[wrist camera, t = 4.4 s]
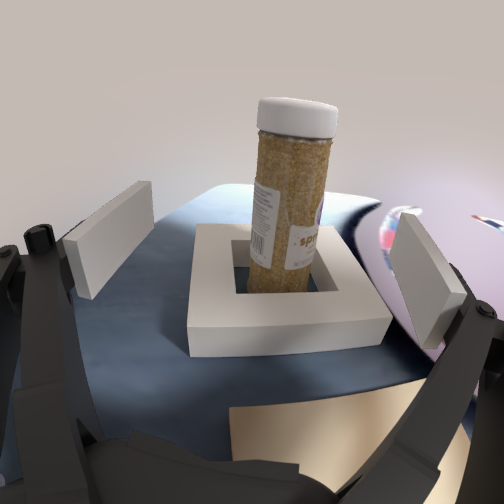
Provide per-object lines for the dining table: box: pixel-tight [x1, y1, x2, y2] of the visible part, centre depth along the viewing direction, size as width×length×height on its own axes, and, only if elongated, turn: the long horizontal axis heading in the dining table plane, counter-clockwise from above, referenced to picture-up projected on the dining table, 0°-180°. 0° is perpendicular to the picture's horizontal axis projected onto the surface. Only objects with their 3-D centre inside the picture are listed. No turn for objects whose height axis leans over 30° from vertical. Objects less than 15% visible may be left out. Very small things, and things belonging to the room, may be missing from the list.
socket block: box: [187, 224, 393, 357], centre depth 22 cm, size 12×12×2 cm
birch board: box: [229, 378, 471, 504], centre depth 9 cm, size 12×12×1 cm
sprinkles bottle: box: [247, 97, 338, 294], centre depth 19 cm, size 5×5×13 cm
